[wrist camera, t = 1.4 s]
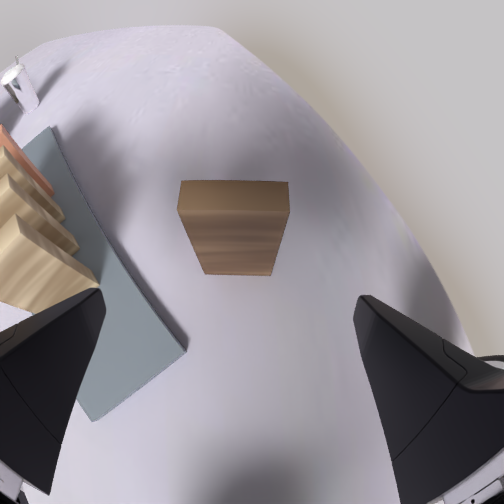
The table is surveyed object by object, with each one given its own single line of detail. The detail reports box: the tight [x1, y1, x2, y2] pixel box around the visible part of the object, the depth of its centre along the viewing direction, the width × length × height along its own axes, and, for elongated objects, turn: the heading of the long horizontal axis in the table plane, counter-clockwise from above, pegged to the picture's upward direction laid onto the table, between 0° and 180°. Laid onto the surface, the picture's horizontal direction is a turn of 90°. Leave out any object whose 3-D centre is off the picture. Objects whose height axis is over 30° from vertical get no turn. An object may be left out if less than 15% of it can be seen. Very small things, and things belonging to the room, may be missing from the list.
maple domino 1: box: [0, 145, 66, 223], centre depth 17 cm, size 2×5×10 cm, turn 131°
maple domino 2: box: [0, 173, 80, 257], centre depth 16 cm, size 2×5×10 cm, turn 131°
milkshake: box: [1, 56, 40, 114], centre depth 26 cm, size 4×5×10 cm
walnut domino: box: [177, 180, 290, 276], centre depth 17 cm, size 2×5×10 cm, turn 90°
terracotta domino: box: [0, 124, 55, 197], centre depth 18 cm, size 2×5×10 cm, turn 131°
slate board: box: [22, 126, 187, 422], centre depth 22 cm, size 33×10×1 cm, turn 41°
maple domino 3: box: [0, 214, 100, 314], centre depth 15 cm, size 2×5×10 cm, turn 131°
